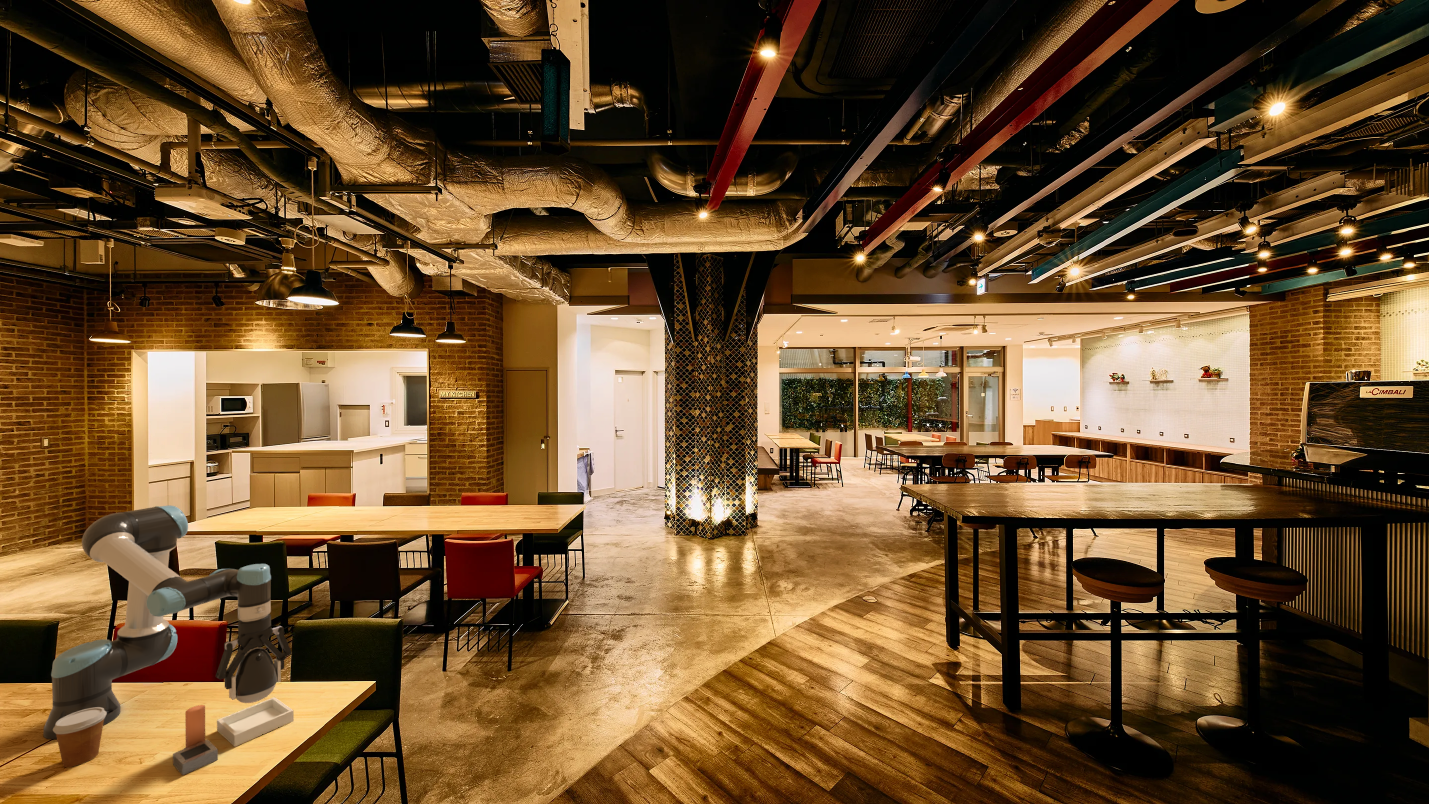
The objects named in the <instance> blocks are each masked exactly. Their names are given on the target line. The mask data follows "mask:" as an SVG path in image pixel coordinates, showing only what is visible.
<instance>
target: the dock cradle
mask: <svg viewBox="0 0 1429 804" xmlns="http://www.w3.org/2000/svg"><path fill="white" fill-rule="evenodd" d="M294 718H295V717H294V709H292V708H291V707H290V706H288V705H287V704H285V703H284V702H283V701H281V700H280V699H278V698H277V697H275V696H273V697H270V698H268V699H265V700H263V701H261V702H258V703H256V704H253V705H250V706H247V707H246V708H244V709H243V708H242V709H241V710H239V711H236V712H233V713H231V714H229V715H226V716H223V717H221V718H218V719H217V720H216V731H217V732H218V733H219V734H220V735H221V736H222V737H223V738H225V739H226V740H227V742H229V743H230V744H231V745H232V747H235V748H236V747H237V746H240V745H242V744H244V743H246V742H249V741H252V740H253V739H257V738H258V737H260V736H262V734H263V735H264V734H267V733H270V732H271V731H274V730H276V729H278V727H279V728H280V727H283V726H285V725H288V724H290V723H292V722H294Z"/></svg>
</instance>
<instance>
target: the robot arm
mask: <svg viewBox="0 0 1429 804" xmlns="http://www.w3.org/2000/svg"><path fill="white" fill-rule="evenodd" d="M188 530H189V523H188V519H187V517H186V515H185V514H184V512H183V511H182V510H181V509H180V508H179V507H178V506H176V505H162V506H157V505H156V506H153V507H147V508H146V507H145V508H141V509H135V510H130V511H129V510H127V511H123V512H114V513H109V514H108V515H107V514H106V515H104V516H102V517H101V518H98V519H97V520H96V521H94V522H93V523H91V524H90V526H88V528H86V530H85V531H84V533H83V535H82V538H81V546H82V549H83V552H84V553H85V554H86V555H87V557H89V558H90V559H92V560H93V561H94V562H98V563H104V564H106V565H107V566H108V567H110V568H111V569H112V570H114V571H115V572H116V573H118V574H119V575H120V576H122V578H124V579H125V580H127V581H128V590H127V601H126V610H125V612H126V613H125V621H124V622H125V624H124V625H123V626H121V627H120V628H119V629H118V630H117V635H116V638H115V640H112V641H111V640H110V639H97V640H93V641H89V642H84V643H81V644H79V645H76V646H73V647H71V648H69V649H67V650H65V651H63V652H62V653H60V654H59V655H58V656H57V657H55V659H54V660H53V661H52V669H51V672H50V676H51V685H52V686H51V687H52V695H51V696H52V707H51V710H50V713H49V715H48V717H47V720H46V721H45V725H44V726H43V738H45V739H49V740H57V736H56V733H55V732H54V731H53V728H54V727H55V724H56V722H57V721H58V720H60V719H61V718H63V717H65V716H67V715H69V714H72V713H74V712H77V711H81V710H84V709H89V708H95V707H101V708H104V710H105V711H106V712H107V715H106V716H105V718H104V722H103V726H104V725H106V724H108V723H110V722H112V721H114V720H115V719H116V718H118V716H120V714H121V713H122V711H121V704H120V702H119V700H118V698H117V696H116V695H115V693H114V691H113V687H112V686H113V685H112V684H113V682H112V681H113V680H115V679H118V678H120V677H123V676H126V675H128V674H131V673H134V672H136V671H139V670H141V669H142V670H143V669H144V668H147V667H150V666H151V667H152V666H154V665H155V664H157V663H159V662H161V661H164V660H166V659H168V658H169V657H170V656H171V655H172V654H173V653H174V651H175V649H176V648H177V643H178V634H177V630H176V628H175V627H174V626H173V625H172V624H171V623H170V622H169V621H168V620H167V619H164V616H167V615H173V614H176V613H180V612H182V611H185V610H188V609H190V608H195V607H196V606H200V605H203V604H206V603H207V604H208V603H210V602H213V601H216V600H220V599H222V598H226V597H234V598H237V619H238V623H237V630H238V631H237V633H238V635H237V638H236V639H235V640H232V641H225V642H224V643H223V648H224V651H223V653H222V656H221V659H220V663H219V665H218V668H217V671H216V674H215V678H217V679H219V680H224V688H225V689H226V690H228V697H229V698H230V699H231V700H232V701H234V700H237V699H236V677H235V676H236V675H234V674H235V672H237V670H238V667H239V664H240V662H241V661H242V659H243V657H244V656H245V654H247V652H248V651H250V650H252V649H254V648H262V647H263V646H265V647H266V649H268V650H269V651H270V652H271V653H272V654H273V655H274V656H275V657H276V658H275V659H274V660H273V663H274V665H275V669H276V673H277V683H281V682H282V676H281V675H282V670H284V669H285V660H286V659H287V657H288V656H291V654H292V650H291V648H290V647H291V646H290V645H289V643H288V641H287V638H286V636H285V627H283V626H281V625H277V626H276V627H273V628H272V616H271V615H272V614H270V613H271V612H272V608H271V602H272V601H271V586H272V585H271V582H272V581H271V580H272V575H271V568H270V565H268V564H266V563H255V564H254V563H253V564H249V565H246V566H243V567H240V568H239V569H235V568H221V569H217V570H215V571H213V572H212V573H210V574H209V575H207V576H203V577H200V578H196V579H192V580H188V581H187V580H186V579H184V578H183V577H181V576H180V575H179V574H178V573H177V572H175V571H173V570H172V569H171V568H169V562H170V561H169V560H170V552H171V551H172V550H174V549H175V548H176V547H177V544H178V543H177V542H178V540H179V539H181V538H184V537H185V536H186V534H187V533H188ZM272 634H274V635H276V639H277V641H278V642H279V645H280V647H281V649H282V651H283V652H281V651H280V650H279V649H278V648H277V646H275V644H273V643H272V641H270V640H269V639H270V637H271V636H272ZM237 644H238V645H240V646H239V648H238V649H237V652H236V653H235V656H234V657H233V659H232V660H231V657H232V654H233V651H234V649H235V648H236V645H237ZM230 661H231V662H230Z"/></svg>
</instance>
